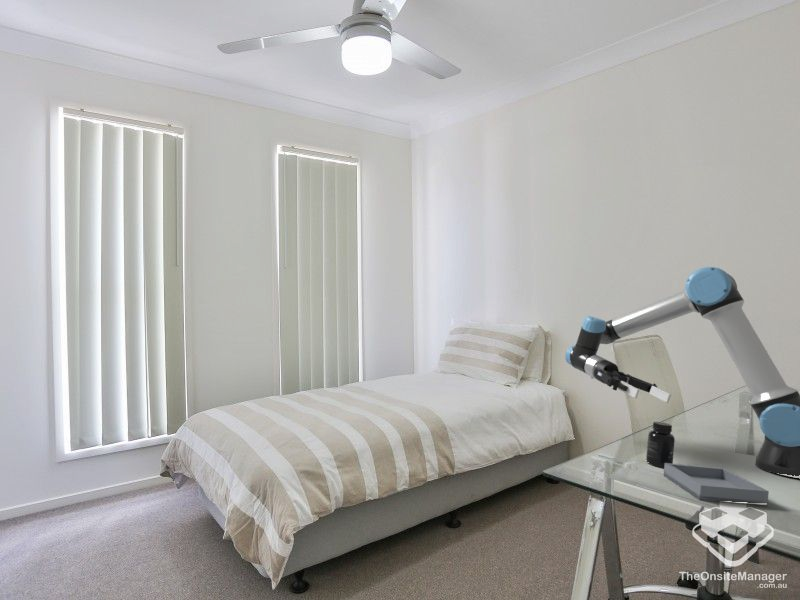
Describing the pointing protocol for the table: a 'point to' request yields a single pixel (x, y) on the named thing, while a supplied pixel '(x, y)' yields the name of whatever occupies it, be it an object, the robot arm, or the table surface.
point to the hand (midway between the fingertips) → (653, 396)
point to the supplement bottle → (660, 445)
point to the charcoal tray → (714, 484)
